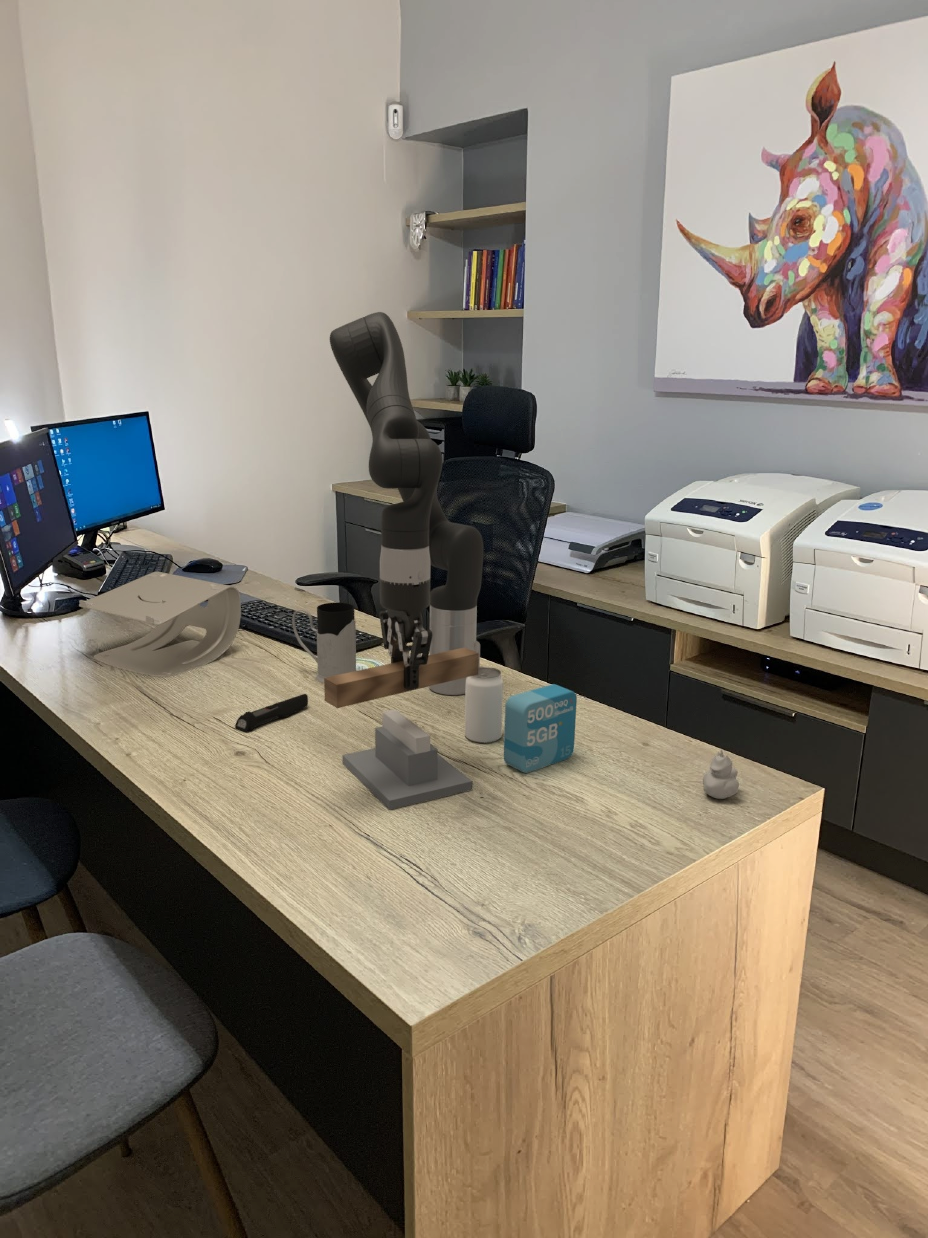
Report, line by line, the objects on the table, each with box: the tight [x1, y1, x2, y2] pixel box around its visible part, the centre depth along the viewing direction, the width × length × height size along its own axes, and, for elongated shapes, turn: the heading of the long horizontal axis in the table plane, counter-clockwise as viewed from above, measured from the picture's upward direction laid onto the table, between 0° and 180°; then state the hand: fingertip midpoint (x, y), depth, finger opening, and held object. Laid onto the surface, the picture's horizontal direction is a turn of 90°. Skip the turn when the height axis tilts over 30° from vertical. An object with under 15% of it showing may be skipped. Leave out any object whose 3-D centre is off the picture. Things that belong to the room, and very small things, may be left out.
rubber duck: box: [702, 749, 740, 800], centre depth 140 cm, size 5×7×8 cm
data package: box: [503, 683, 578, 774], centre depth 150 cm, size 12×4×12 cm, turn 129°
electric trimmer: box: [234, 693, 309, 733], centre depth 167 cm, size 4×16×3 cm, turn 141°
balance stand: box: [341, 709, 473, 811], centre depth 144 cm, size 14×18×9 cm
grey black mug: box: [291, 602, 357, 684], centre depth 188 cm, size 9×14×15 cm, turn 71°
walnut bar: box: [323, 648, 479, 709], centre depth 141 cm, size 26×4×4 cm, turn 128°
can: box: [464, 666, 504, 744], centre depth 160 cm, size 6×6×12 cm
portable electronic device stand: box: [78, 571, 242, 678], centre depth 199 cm, size 26×24×16 cm
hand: (404, 683), depth 141 cm, fingers closed on walnut bar, 4 cm apart
